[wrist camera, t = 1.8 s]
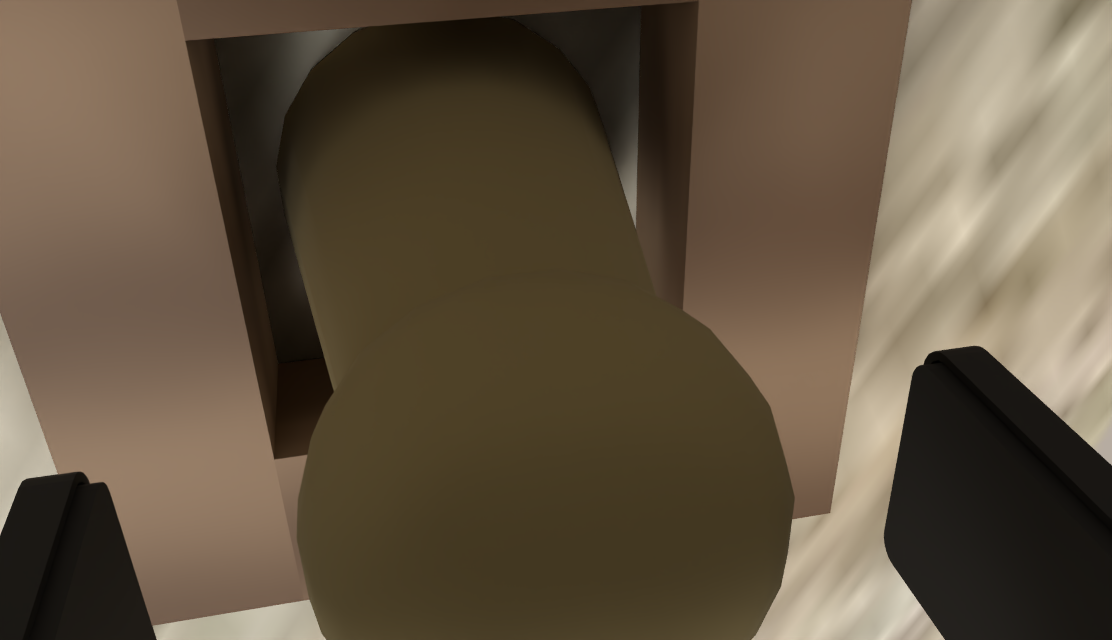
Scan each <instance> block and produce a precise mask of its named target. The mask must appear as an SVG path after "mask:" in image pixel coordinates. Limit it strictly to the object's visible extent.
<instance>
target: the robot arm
mask: <svg viewBox="0 0 1112 640" xmlns="http://www.w3.org/2000/svg"><path fill="white" fill-rule="evenodd" d="M884 543H885V548H886V552H887V554H888V557H889V559H890V561H891V563H892V564H893V566H894V567H895V569H896V570H897V571H898V573H899V574H900V576H901V577H902V579H903V580H904V582H905V583H906V584H907V586H908V587H909V589H910V590H911V592H912V593H913V594H914V596H915V597H916V599H917V600H918V602H919V603H920V604H921V606H922V607H923V609H924V610H925V612H926V613H927V615H928V616H929V617H930V619H931V620H932V622H933V623H934V625H935V626H936V627H937V629H938V630H939V632H940V633H941V635H942V636H943V637H944V639H945V640H1112V465H1111V464H1109V463H1108V462H1107V461H1106V460H1105V459H1104V458H1103V457H1102V456H1101V455H1100V454H1099V453H1097V452H1096V451H1095V450H1094V449H1093V448H1092V447H1091V446H1090V445H1089V444H1088V443H1087V442H1086V441H1084V440H1083V439H1082V438H1081V437H1080V436H1079V435H1078V434H1077V433H1076V432H1075V431H1074V430H1072V429H1071V428H1070V427H1069V426H1068V425H1067V424H1066V423H1065V422H1064V421H1063V420H1062V419H1061V418H1059V417H1058V416H1057V415H1056V414H1055V413H1054V412H1053V411H1052V410H1051V409H1050V408H1049V407H1047V406H1046V405H1045V404H1044V403H1043V402H1042V401H1041V400H1040V399H1039V398H1038V397H1037V396H1035V395H1034V394H1033V393H1032V392H1031V391H1030V390H1029V389H1028V388H1027V387H1026V386H1025V385H1023V384H1022V383H1021V382H1020V381H1019V380H1018V379H1017V378H1016V377H1015V376H1014V375H1013V374H1012V373H1010V372H1009V371H1008V370H1007V369H1006V368H1005V367H1004V366H1003V365H1002V364H1001V363H1000V362H998V361H997V360H996V359H995V358H994V357H993V356H992V355H991V354H990V353H989V352H988V351H986V350H985V349H983V348H982V347H979V346H969V347H962V348H955V349H948V350H941V351H934V352H932V353H930V354H929V355H928V356H927V358H926V359H925V361H924V365H920V366H918V367H916V369H915V370H914V372H913V375H912V380H911V385H910V391H909V396H908V402H907V407H906V413H905V419H904V424H903V430H902V435H901V441H900V446H899V452H898V457H897V463H896V469H895V474H894V480H893V485H892V491H891V496H890V502H889V508H888V513H887V519H886V524H885V530H884ZM0 640H157V639H156V636H155V633H154V630H153V627H152V624H151V620H150V617H149V614H148V611H147V608H146V605H145V601H144V598H143V595H142V592H141V589H140V586H139V582H138V579H137V576H136V573H135V570H134V567H133V563H132V560H131V557H130V554H129V551H128V548H127V544H126V541H125V538H124V535H123V532H122V529H121V525H120V522H119V519H118V516H117V513H116V510H115V506H114V503H113V500H112V497H111V494H110V491H109V489H108V486H107V485H106V484H105V483H104V482H98V483H91V484H90V482H89V480H88V478H87V476H86V475H85V474H84V473H83V472H81V471H79V472H71V473H64V474H57V475H50V476H43V477H36V478H29V479H26V480H24V481H22V483H21V485H20V486H19V488H18V491H17V494H16V496H15V499H14V501H13V504H12V506H11V509H10V512H9V514H8V517H7V519H6V522H5V524H4V527H3V530H2V532H1V535H0Z"/></svg>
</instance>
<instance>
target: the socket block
mask: <svg viewBox="0 0 1112 640" xmlns="http://www.w3.org/2000/svg"><path fill="white" fill-rule="evenodd" d="M911 3H912V0H0V313H1V316H2V319H3V322H4V325H5V327H6V330H7V333H8V336H9V338H10V341H11V344H12V347H13V350H14V352H15V355H16V358H17V361H18V364H19V366H20V369H21V372H22V375H23V378H24V380H25V383H26V386H27V389H28V392H29V394H30V397H31V400H32V403H33V406H34V408H35V411H36V414H37V417H38V419H39V422H40V425H41V428H42V431H43V433H44V436H45V439H46V442H47V445H48V447H49V450H50V453H51V456H52V459H53V461H54V464H55V467H56V470H57V473H58V474H64V473H71V472H79V471H81V472H83V473H84V474H85V475H86V476H87V478H88V480H89V482H90V484H91V483H98V482H104V483H105V484H106V485H107V486H108V489H109V491H110V494H111V497H112V500H113V503H114V506H115V510H116V513H117V516H118V519H119V522H120V525H121V529H122V532H123V535H124V538H125V541H126V544H127V548H128V551H129V554H130V557H131V560H132V563H133V567H134V570H135V573H136V576H137V579H138V582H139V586H140V589H141V592H142V595H143V598H144V601H145V605H146V608H147V611H148V614H149V617H150V620H151V624H152V626H153V625H159V624H165V623H171V622H177V621H183V620H189V619H195V618H201V617H207V616H213V615H219V614H225V613H231V612H237V611H243V610H249V609H255V608H261V607H267V606H273V605H279V604H285V603H291V602H297V601H303V600H309V596H308V591H307V586H306V581H305V577H304V572H303V567H302V562H301V558H300V553H299V548H298V543H297V539H296V536H297V508H298V496H299V491H300V487H301V482H302V478H303V473H304V468H305V464H306V459H307V455H308V450H309V445H310V441H311V437H312V434H313V432H314V430H315V427H316V425H317V423H318V420H319V418H320V416H321V414H322V411H323V409H324V407H325V405H326V403H327V402H328V400H329V399H330V397H331V396H332V394H333V393H334V390H333V386H332V383H331V379H330V376H329V372H328V368H327V365H326V361H325V358H320V359H312V360H304V361H297V362H289V363H281V364H278V361H277V356H276V351H275V345H274V340H273V335H272V330H271V325H270V320H269V315H268V310H267V305H266V300H265V295H264V290H263V285H262V280H261V274H260V269H259V264H258V259H257V254H256V249H255V244H254V239H253V234H252V229H251V224H250V219H249V214H248V209H247V203H246V198H245V193H244V188H243V183H242V178H241V173H240V168H239V163H238V158H237V153H236V148H235V143H234V138H233V132H232V127H231V122H230V117H229V112H228V107H227V102H226V97H225V92H224V87H223V82H222V77H221V72H220V67H219V61H218V56H217V51H216V46H215V41H214V38H226V37H239V36H252V35H265V34H278V33H291V32H304V31H317V30H330V29H343V28H356V27H369V26H382V25H395V24H408V23H421V22H434V21H447V20H460V19H473V18H486V17H499V16H512V15H525V14H538V13H551V12H564V11H577V10H590V9H603V8H616V7H629V6H641V36H640V80H639V124H638V167H637V211H636V232H637V235H638V238H639V242H640V245H641V248H642V251H643V254H644V258H645V261H646V264H647V267H648V270H649V274H650V277H651V280H652V283H653V286H654V290H655V293H656V296H657V297H659V298H661V299H663V300H665V301H667V302H669V303H670V304H672V305H674V306H676V307H678V308H680V309H682V310H683V311H685V312H686V313H688V314H689V315H690V316H692V317H693V318H695V319H696V320H698V321H699V322H701V323H702V324H704V325H705V326H707V327H708V328H710V329H711V331H712V332H713V333H714V334H715V335H716V337H717V338H718V339H719V340H720V341H721V342H722V344H723V345H724V346H725V347H726V348H727V350H728V351H729V352H730V353H731V354H732V355H733V357H734V358H735V359H736V360H737V361H738V363H739V364H740V365H741V366H742V367H743V368H744V370H745V371H746V372H747V373H748V374H749V376H750V377H751V379H752V380H753V382H754V383H755V385H756V386H757V387H758V389H759V390H760V392H761V393H762V395H763V396H764V398H765V399H766V400H767V402H768V403H769V405H770V407H771V410H772V414H773V417H774V421H775V424H776V428H777V431H778V434H779V438H780V441H781V445H782V448H783V452H784V455H785V459H786V463H787V467H788V471H789V475H790V479H791V483H792V488H793V492H794V496H795V501H794V509H793V516H792V519H797V518H803V517H809V516H815V515H821V514H827V513H830V510H831V504H832V498H833V491H834V485H835V479H836V472H837V466H838V460H839V454H840V447H841V441H842V435H843V429H844V422H845V416H846V410H847V404H848V397H849V391H850V385H851V379H852V372H853V366H854V360H855V354H856V347H857V341H858V335H859V328H860V322H861V316H862V310H863V303H864V297H865V291H866V285H867V278H868V272H869V266H870V260H871V253H872V247H873V241H874V235H875V228H876V222H877V216H878V209H879V203H880V197H881V191H882V184H883V178H884V172H885V166H886V159H887V153H888V147H889V141H890V134H891V128H892V122H893V116H894V109H895V103H896V97H897V90H898V84H899V78H900V72H901V65H902V59H903V53H904V47H905V40H906V34H907V28H908V22H909V15H910V9H911Z"/></svg>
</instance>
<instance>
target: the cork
mask: <svg viewBox="0 0 1112 640" xmlns="http://www.w3.org/2000/svg"><path fill="white" fill-rule="evenodd" d="M276 169H277V175H278V180H279V186H280V191H281V197H282V203H283V208H284V214H285V218H286V221H287V225H288V229H289V232H290V236H291V239H292V243H293V247H294V250H295V254H296V257H297V261H298V264H299V268H300V272H301V275H302V279H303V282H304V286H305V290H306V293H307V297H308V300H309V304H310V307H311V311H312V315H313V318H314V322H315V325H316V329H317V333H318V336H319V340H320V343H321V347H322V350H323V354H324V358H325V361H326V365H327V368H328V372H329V376H330V379H331V383H332V386H333V390H334V393H333V394H332V396H331V397H330V399H329V400H328V402H327V403H326V405H325V407H324V409H323V411H322V414H321V416H320V418H319V420H318V423H317V425H316V427H315V430H314V432H313V434H312V437H311V441H310V445H309V450H308V455H307V459H306V464H305V468H304V473H303V478H302V482H301V487H300V491H299V496H298V508H297V536H296V539H297V543H298V548H299V553H300V558H301V562H302V567H303V572H304V577H305V581H306V586H307V591H308V596H309V599H310V602H311V604H312V607H313V610H314V613H315V616H316V618H317V621H318V624H319V627H320V630H321V632H322V634H323V636H324V637H325V638H326V640H751V639H752V638H753V637H754V636H755V635H756V633H757V632H758V630H759V628H760V626H761V624H762V622H763V620H764V618H765V616H766V614H767V612H768V610H769V608H770V607H771V605H772V603H773V601H774V599H775V597H776V595H777V593H778V591H779V589H780V587H781V583H782V578H783V573H784V569H785V564H786V559H787V554H788V547H789V539H790V532H791V524H792V516H793V509H794V501H795V496H794V492H793V488H792V483H791V479H790V475H789V471H788V467H787V463H786V459H785V455H784V452H783V448H782V445H781V441H780V438H779V434H778V431H777V428H776V424H775V421H774V417H773V414H772V410H771V407H770V405H769V403H768V402H767V400H766V399H765V398H764V396H763V395H762V393H761V392H760V390H759V389H758V387H757V386H756V385H755V383H754V382H753V380H752V379H751V377H750V376H749V374H748V373H747V372H746V371H745V370H744V368H743V367H742V366H741V365H740V364H739V363H738V361H737V360H736V359H735V358H734V357H733V355H732V354H731V353H730V352H729V351H728V350H727V348H726V347H725V346H724V345H723V344H722V342H721V341H720V340H719V339H718V338H717V337H716V335H715V334H714V333H713V332H712V331H711V329H710V328H708V327H707V326H705V325H704V324H702V323H701V322H699V321H698V320H696V319H695V318H693V317H692V316H690V315H689V314H688V313H686V312H685V311H683V310H682V309H680V308H678V307H676V306H674V305H672V304H670V303H669V302H667V301H665V300H663V299H661V298H659V297H657V296H656V293H655V290H654V286H653V283H652V280H651V277H650V274H649V270H648V267H647V264H646V261H645V258H644V254H643V251H642V248H641V245H640V242H639V238H638V235H637V232H636V229H635V226H634V222H633V219H632V216H631V213H630V210H629V206H628V203H627V200H626V197H625V194H624V190H623V187H622V184H621V181H620V178H619V174H618V171H617V168H616V165H615V162H614V158H613V155H612V152H611V149H610V146H609V142H608V139H607V136H606V133H605V130H604V127H603V124H602V121H601V118H600V115H599V112H598V109H597V107H596V104H595V101H594V98H593V95H592V92H591V89H590V87H589V86H588V85H587V83H586V82H585V81H584V80H583V78H582V77H581V76H580V75H579V73H578V72H577V71H576V69H575V68H574V67H573V66H572V64H571V63H570V62H569V61H568V59H567V58H566V57H565V55H564V54H563V53H562V52H561V50H560V49H559V48H557V47H556V46H554V45H553V44H551V43H549V42H548V41H546V40H545V39H543V38H542V37H540V36H538V35H537V34H535V33H534V32H532V31H531V30H529V29H528V28H526V27H524V26H523V25H521V24H520V23H518V22H517V21H515V20H511V19H507V18H503V17H486V18H473V19H460V20H447V21H434V22H421V23H408V24H395V25H382V26H369V27H367V28H364V29H362V30H359V31H357V32H355V33H353V34H351V35H350V36H349V37H348V38H347V39H346V40H345V41H343V42H342V43H341V44H340V45H339V46H338V47H337V48H335V49H334V50H333V51H332V52H331V53H330V54H329V55H327V56H326V57H325V58H324V59H323V60H322V61H321V62H319V63H318V64H317V65H316V66H315V67H314V68H313V69H312V70H311V71H310V73H309V74H308V76H307V78H306V80H305V82H304V83H303V85H302V87H301V89H300V90H299V92H298V94H297V96H296V97H295V99H294V101H293V103H292V104H291V106H290V108H289V110H288V112H287V113H286V115H285V118H284V124H283V130H282V135H281V141H280V147H279V153H278V159H277V164H276Z"/></svg>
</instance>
